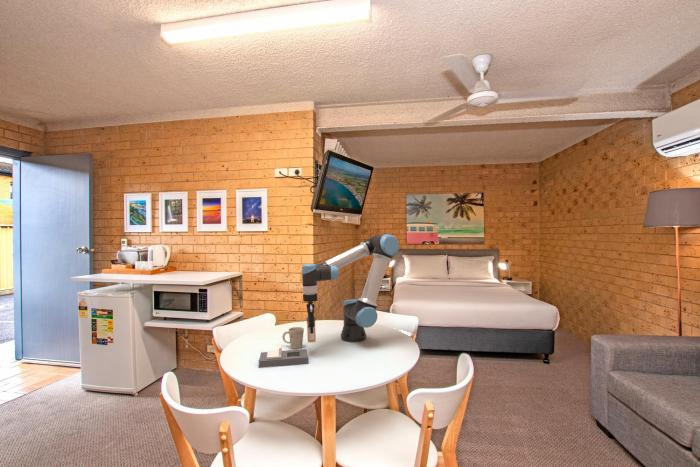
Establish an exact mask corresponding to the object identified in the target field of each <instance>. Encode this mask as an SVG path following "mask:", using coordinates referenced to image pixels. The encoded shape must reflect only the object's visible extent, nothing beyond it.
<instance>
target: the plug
mask: <svg viewBox="0 0 700 467" xmlns="http://www.w3.org/2000/svg"><path fill="white" fill-rule="evenodd" d="M305 320H306V328H307V329H306V330H307V343H308V344H309V343H316V342H317V338H316V334H317V333H316V317H315V316H314V325H315V326H314V336H315V339H312V340H309V327H308V326H309V317H308V316H307V317H306V319H305Z"/></svg>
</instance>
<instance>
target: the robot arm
mask: <svg viewBox="0 0 700 467" xmlns="http://www.w3.org/2000/svg"><path fill="white" fill-rule="evenodd" d="M399 249H400V243H399V241H398V239H397V237H396V236H395V235H393V234H387V233H385V234H375V235H372V236H371V237H370V236H369V238H367V239H364V240H363V241H361V242H360V244H358V245H356V246H354V247H352V248H350V249H348V250H346V251H344V252H342V253H340V254H337V255H335V256H333V257H331V258H329V259H327V260H325V261H323V262H321V263H304V264H303V265H302V266H301V281H302V287H301V290H302V293H303V294H302V301H303V302H304V303H306V312H307V317H309V326H308V327H309V340H312V339H315V336H314V326H315V327H316V324H315V325H314V317H315V303H314V302H317V301H318V294H317V293H318V282H323V281H324V282H325V281H334V280H338V278H339V269H342V268H343V267H346V266H347V265H350V264H352V263H354V262H356V261H358V260H360V259H362V258H364V257H371V256H373V260H372V262H371V266H370V269H369V271H368V275H367V278H366V281H365V285H364V287H363V291H362V294H361V296H360V297H359V298H357V299H355V298H353V299H352V298H351V299H346V300H344V301H343V306H342V307H343V326H342V330H341V332H340V340H342V341H344V342H351V343H355V342H356V341H358V342H362V340H363V341H365V340H366V339H367V333H366V330H365V329H367V328H371V327H372V326H374V325H375V324H376V322H377V320H378V312H377V307H378V304H377V300H378V295H379V292H380V289H381V286H382V282H383V279H384V276H385V274H386V270H387V267H388V263H389V262H391V261H392V260H393V257H394V255H396V254H397V253H398V251H399ZM364 339H365V340H364ZM356 343H357V342H356Z"/></svg>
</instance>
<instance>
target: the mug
mask: <svg viewBox="0 0 700 467" xmlns="http://www.w3.org/2000/svg"><path fill="white" fill-rule="evenodd" d="M304 333H305V328H304V327H300V326H293V327H290V328H289V329H288V330H287V331H284V333H283V334H282V340H283V342H284V343H286V344H289V345H290V348H291V350H300V349H302V347H303V342H304V341H303V340H304ZM287 334H289V335H288V336H289V341H287V340H286V339H285V336H286V335H287Z"/></svg>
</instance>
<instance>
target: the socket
mask: <svg viewBox="0 0 700 467" xmlns="http://www.w3.org/2000/svg"><path fill="white" fill-rule="evenodd" d="M267 353H268V351H261V352H260V356H259V359H258V368H259V369H260V368H273V367H283V366H284V367H286V366H297V365H306V364H309V353H308V349H307V348H299V349H289V350H287V349H286V350H282V356H281V358H274V359H267Z"/></svg>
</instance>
